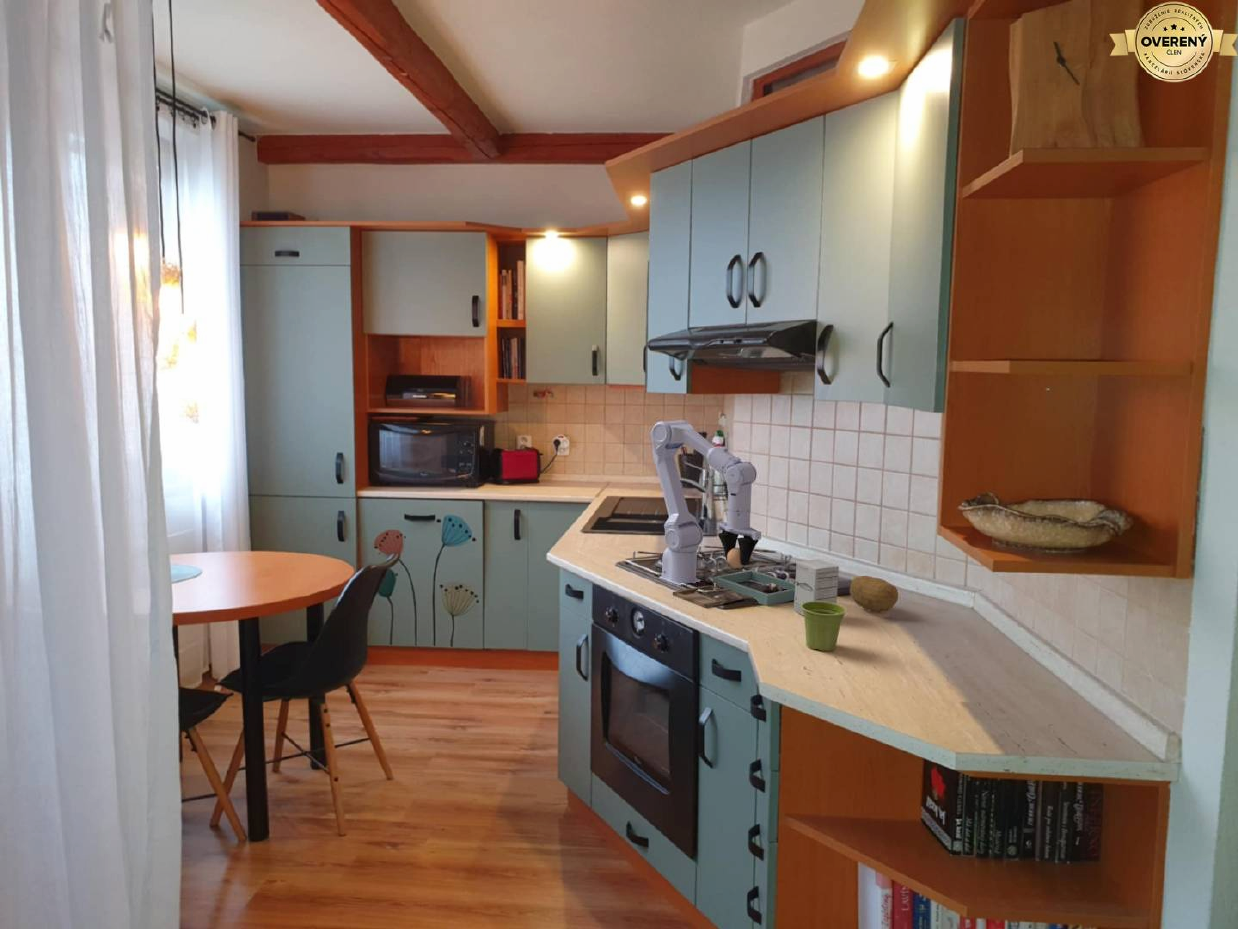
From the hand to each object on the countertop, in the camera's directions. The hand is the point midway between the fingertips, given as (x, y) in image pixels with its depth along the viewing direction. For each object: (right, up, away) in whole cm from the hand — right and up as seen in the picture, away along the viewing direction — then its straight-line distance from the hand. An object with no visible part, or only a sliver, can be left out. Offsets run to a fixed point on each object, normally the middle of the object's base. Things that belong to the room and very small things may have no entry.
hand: (737, 562), depth 211 cm
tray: (+6, -9, +4) cm, 11 cm away
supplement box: (+17, -11, -13) cm, 24 cm away
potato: (+32, -11, -8) cm, 35 cm away
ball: (0, -1, 0) cm, 1 cm away
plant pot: (+13, -14, -35) cm, 40 cm away
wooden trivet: (-8, -9, -2) cm, 12 cm away
